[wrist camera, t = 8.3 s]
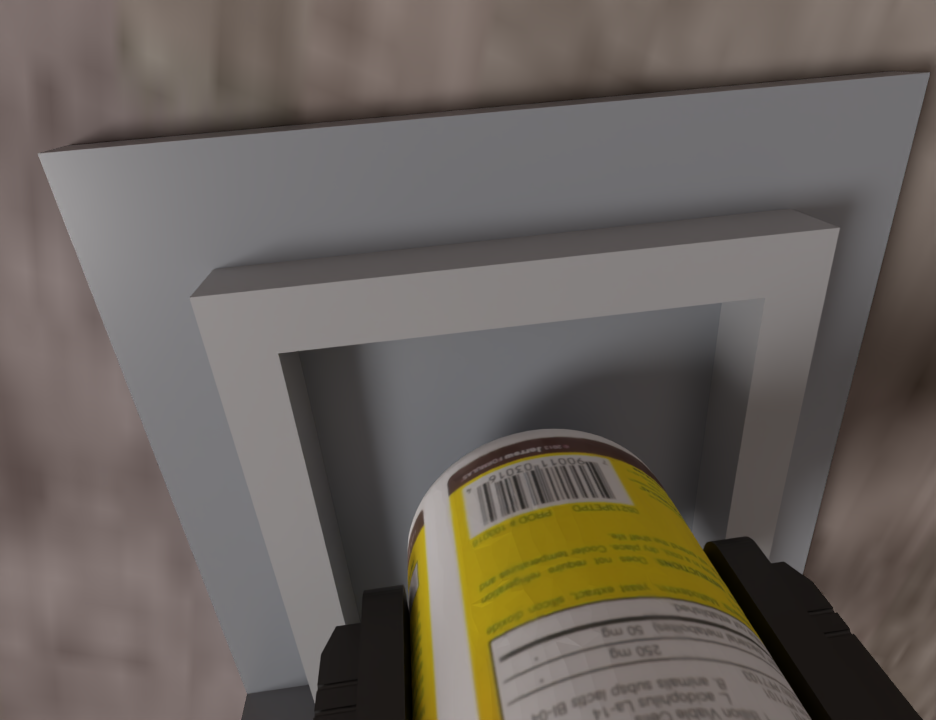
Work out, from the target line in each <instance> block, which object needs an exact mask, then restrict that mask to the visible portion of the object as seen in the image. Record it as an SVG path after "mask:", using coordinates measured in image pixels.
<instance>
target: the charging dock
mask: <svg viewBox="0 0 936 720" xmlns="http://www.w3.org/2000/svg"><path fill="white" fill-rule="evenodd" d="M929 76H930V72H898V71H888V72H877V73H866V74H855V75H844V76H833V77H822V78H810V79H799V80H788V81H777V82H766V83H755V84H744V85H733V86H722V87H711V88H700V89H689V90H678V91H666V92H655V93H644V94H633V95H622V96H611V97H600V98H589V99H578V100H567V101H556V102H545V103H534V104H522V105H511V106H500V107H489V108H478V109H467V110H456V111H445V112H434V113H423V114H412V115H401V116H389V117H378V118H367V119H356V120H345V121H334V122H323V123H312V124H301V125H290V126H279V127H268V128H257V129H245V130H234V131H223V132H212V133H201V134H190V135H179V136H168V137H157V138H146V139H135V140H124V141H113V142H101V143H90V144H79V145H68V146H63V147H60V148H56V149H52V150H49V151H45V152H41V153H38V156H39V158H40V161H41V164H42V166H43V169H44V171H45V174H46V176H47V179H48V182H49V184H50V187H51V189H52V192H53V194H54V197H55V200H56V202H57V205H58V207H59V210H60V213H61V215H62V218H63V220H64V223H65V225H66V228H67V231H68V233H69V236H70V238H71V241H72V243H73V246H74V249H75V251H76V254H77V256H78V259H79V261H80V264H81V267H82V269H83V272H84V274H85V277H86V280H87V282H88V285H89V287H90V290H91V292H92V295H93V298H94V300H95V303H96V305H97V308H98V310H99V313H100V316H101V318H102V321H103V323H104V326H105V329H106V331H107V334H108V336H109V339H110V341H111V344H112V347H113V349H114V352H115V354H116V357H117V359H118V362H119V365H120V367H121V370H122V372H123V375H124V378H125V380H126V383H127V385H128V388H129V390H130V393H131V396H132V398H133V401H134V403H135V406H136V408H137V411H138V414H139V416H140V419H141V421H142V424H143V426H144V429H145V432H146V434H147V437H148V439H149V442H150V445H151V447H152V450H153V452H154V455H155V457H156V460H157V463H158V465H159V468H160V470H161V473H162V475H163V478H164V481H165V483H166V486H167V488H168V491H169V494H170V496H171V499H172V501H173V504H174V506H175V509H176V512H177V514H178V517H179V519H180V522H181V524H182V527H183V530H184V532H185V535H186V537H187V540H188V543H189V545H190V548H191V550H192V553H193V555H194V558H195V561H196V563H197V566H198V568H199V571H200V573H201V576H202V579H203V581H204V584H205V586H206V589H207V591H208V594H209V597H210V599H211V602H212V604H213V607H214V610H215V612H216V615H217V617H218V620H219V622H220V625H221V628H222V630H223V633H224V635H225V638H226V640H227V643H228V646H229V648H230V651H231V653H232V656H233V659H234V661H235V664H236V666H237V669H238V671H239V674H240V677H241V679H242V682H243V684H244V687H245V689H246V692H247V697H246V702H245V706H244V710H243V715H242V719H241V720H313V718H314V716H315V713H314V708H315V700H316V691H317V690H318V687H317V683H318V674H319V666H320V658H321V653H322V651H323V650H324V648H325V646H326V644H327V642H328V640H329V638H330V636H331V635H332V633H333V631H334V629H335V627H336V626H341V625H348V624H355V623H361V613H362V597H363V591H364V590H369V589H376V588H382V587H389V586H396V585H403V584H404V586H405V591H406V596H407V602H408V608H409V596H408V570H407V567H408V554H407V550H408V537H409V532H410V528H411V524H412V521H413V518H414V516H415V513H416V511H417V509H418V506H419V505H420V503H421V501H422V499H423V497H424V496H425V494H426V493H427V491H428V490H429V489H430V487H431V486H432V485H433V483H434V482H435V481H436V480H437V479H438V478H439V477H440V476H441V475H442V474H443V473H444V472H445V471H446V470H447V469H448V468H449V467H450V466H451V465H453V464H454V463H455V462H457V461H458V460H459V459H461V458H462V457H463V456H465V455H466V454H468V453H470V452H471V451H473V450H475V449H477V448H478V447H480V446H482V445H485V444H487V443H489V442H491V441H493V440H496V439H498V438H502V437H505V436H508V435H512V434H515V433H520V432H525V431H531V430H538V429H569V430H576V431H582V432H587V433H591V434H594V435H598V436H601V437H603V438H606V439H608V440H611V441H613V442H615V443H617V444H619V445H620V446H622V447H624V448H625V449H627V450H629V451H630V452H631V453H633V454H634V455H635V456H637V457H638V458H639V459H640V460H641V461H642V462H643V463H644V464H645V465H646V466H647V467H648V468H649V469H650V471H651V472H652V473H653V474H654V475H655V477H656V478H657V479H658V481H659V482H660V483H661V484H662V486H663V487H664V489H665V491H666V492H667V494H668V496H669V498H670V499H671V500H672V502H673V503H674V505H675V507H676V508H677V510H678V511H679V513H680V514H681V516H682V518H683V519H684V521H685V522H686V524H687V525H688V527H689V529H690V530H691V532H692V533H693V535H694V537H695V538H696V540H697V541H698V543H699V544H700V546H701V548H702V549H704V546H705V544H706V543H707V542H709V541H716V540H723V539H730V538H737V537H744V536H747V537H750V538H751V539H753V540H754V541H755V542H756V544H757V545H758V546H759V548H760V549H761V550H762V552H763V553H764V554H765V556H766V557H767V558H768V560H769V561H770V562H771V563H776V562H783V561H784V562H786V563H787V564H788V565H790V566H791V567H793V568H794V569H795V570H797V571H798V572H799V573H801V574H802V575H803V571H804V567H805V563H806V559H807V556H808V552H809V548H810V544H811V540H812V536H813V532H814V528H815V524H816V520H817V516H818V512H819V508H820V504H821V500H822V497H823V493H824V489H825V485H826V481H827V477H828V473H829V469H830V465H831V461H832V457H833V453H834V449H835V445H836V441H837V438H838V434H839V430H840V426H841V422H842V418H843V414H844V410H845V406H846V402H847V398H848V394H849V390H850V386H851V382H852V379H853V375H854V371H855V367H856V363H857V359H858V355H859V351H860V347H861V343H862V339H863V335H864V331H865V327H866V323H867V319H868V316H869V312H870V308H871V304H872V300H873V296H874V292H875V288H876V284H877V280H878V276H879V272H880V268H881V264H882V260H883V257H884V253H885V249H886V245H887V241H888V237H889V233H890V229H891V225H892V221H893V217H894V213H895V209H896V205H897V201H898V198H899V194H900V190H901V186H902V182H903V178H904V174H905V170H906V166H907V162H908V158H909V154H910V150H911V146H912V142H913V139H914V135H915V131H916V127H917V123H918V119H919V115H920V111H921V107H922V103H923V99H924V95H925V91H926V87H927V83H928V80H929Z"/></svg>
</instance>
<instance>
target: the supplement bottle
mask: <svg viewBox="0 0 936 720" xmlns="http://www.w3.org/2000/svg"><path fill="white" fill-rule="evenodd" d="M407 554H408V567H407V570H408V596H409V622H410V649H411V688H412V720H812V719H811V718H810V716H809V715H808V713H807V712H806V710H805V709H804V707H803V706H802V704H801V702H800V701H799V699H798V698H797V696H796V695H795V693H794V691H793V690H792V688H791V687H790V685H789V684H788V682H787V680H786V679H785V677H784V676H783V674H782V673H781V671H780V670H779V668H778V667H777V665H776V663H775V662H774V660H773V658H772V657H771V655H770V653H769V652H768V650H767V649H766V647H765V646H764V644H763V642H762V641H761V639H760V637H759V636H758V634H757V633H756V631H755V630H754V629H753V627H752V625H751V624H750V623H749V621H748V619H747V618H746V616H745V614H744V613H743V611H742V610H741V608H740V607H739V605H738V603H737V602H736V600H735V599H734V597H733V596H732V594H731V592H730V591H729V589H728V587H727V586H726V584H725V583H724V582H723V580H722V579H721V577H720V576H719V574H718V573H717V571H716V569H715V568H714V566H713V565H712V563H711V562H710V560H709V559H708V557H707V555H706V554H705V552H704V551H703V549H702V548H701V546H700V544H699V543H698V541H697V540H696V538H695V537H694V535H693V533H692V532H691V530H690V529H689V527H688V525H687V524H686V522H685V521H684V519H683V518H682V516H681V514H680V513H679V511H678V510H677V508H676V507H675V505H674V503H673V502H672V500H671V499H670V498H669V496H668V494H667V492H666V491H665V489H664V487H663V486H662V484H661V483H660V482H659V481H658V479H657V478H656V477H655V475H654V474H653V473H652V472H651V471H650V469H649V468H648V467H647V466H646V465H645V464H644V463H643V462H642V461H641V460H640V459H639V458H638V457H637V456H635V455H634V454H633V453H631V452H630V451H629V450H627V449H625V448H624V447H622V446H620V445H619V444H617V443H615V442H613V441H611V440H608V439H606V438H603V437H601V436H598V435H594V434H591V433H587V432H582V431H576V430H569V429H538V430H531V431H525V432H520V433H515V434H512V435H508V436H505V437H502V438H498V439H496V440H493V441H491V442H489V443H487V444H485V445H482V446H480V447H478V448H477V449H475V450H473V451H471V452H470V453H468V454H466V455H465V456H463V457H462V458H461V459H459V460H458V461H457V462H455V463H454V464H453V465H451V466H450V467H449V468H448V469H447V470H446V471H445V472H444V473H443V474H442V475H441V476H440V477H439V478H438V479H437V480H436V481H435V482H434V483H433V485H432V486H431V487H430V489H429V490H428V491H427V493H426V494H425V496H424V497H423V499H422V501H421V503H420V505H419V506H418V509H417V511H416V513H415V516H414V518H413V521H412V524H411V528H410V532H409V537H408V550H407Z"/></svg>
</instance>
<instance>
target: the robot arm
mask: <svg viewBox="0 0 936 720" xmlns="http://www.w3.org/2000/svg"><path fill="white" fill-rule="evenodd" d="M703 551H704V552H705V554H706V555H707V557H708V559H709V560H710V562H711V563H712V565H713V566H714V568H715V569H716V571H717V573H718V574H719V576H720V577H721V579H722V580H723V582H724V583H725V584H726V586H727V587H728V589H729V591H730V592H731V594H732V596H733V597H734V599H735V600H736V602H737V603H738V605H739V607H740V608H741V610H742V611H743V613H744V614H745V616H746V618H747V619H748V621H749V623H750V624H751V625H752V627H753V629H754V630H755V631H756V633H757V634H758V636H759V637H760V639H761V641H762V642H763V644H764V646H765V647H766V649H767V650H768V652H769V653H770V655H771V657H772V658H773V660H774V662H775V663H776V665H777V667H778V668H779V670H780V671H781V673H782V674H783V676H784V677H785V679H786V680H787V682H788V684H789V685H790V687H791V688H792V690H793V691H794V693H795V695H796V696H797V698H798V699H799V701H800V702H801V704H802V706H803V707H804V709H805V710H806V712H807V713H808V715H809V716H810V718H811V719H812V720H923V719H922V718H921V717H920V716H919V715H918V713H917V712H916V711H915V710H914V708H913V707H912V706H911V705H910V703H909V702H908V701H907V700H906V698H905V697H904V696H903V695H902V693H901V692H900V691H899V690H898V688H897V687H896V686H895V685H894V683H893V682H892V681H891V680H890V678H889V677H888V676H887V675H886V673H885V672H884V671H883V670H882V668H881V667H880V666H879V665H878V663H877V662H876V661H875V660H874V658H873V657H872V656H871V655H870V653H869V652H868V651H867V650H866V648H865V647H864V646H863V645H862V643H861V642H860V641H859V640H858V638H857V637H856V636H855V635H854V634H853V635H852V634H851V632H850V628H849V627H848V626H847V625H846V623H845V622H844V621H843V619H842V618H841V617H840V616H839V614H838V613H835V612H834V611H833V607H832V606H831V604H830V603H829V602H828V601H827V599H826V598H825V597H824V596H823V594H822V593H821V592H820V591H819V589H818V588H817V587H816V586H815V584H814V583H813V582H812V581H811V580H809V579H808V578H806V577H805V576H804V575H802V574H801V573H799V572H798V571H797V570H795V569H794V568H793V567H791V566H790V565H788V564H787V563H786V562H784V561H783V562H776V563H771V562H770V561H769V560H768V558H767V557H766V556H765V554H764V553H763V552H762V550H761V549H760V548H759V546H758V545H757V544H756V542H755V541H754V540H753V539H751V538H750V537H747V536H744V537H737V538H730V539H723V540H716V541H709V542H707V543H706V544H705V546H704V549H703ZM317 687H318V690H317V691H316V700H315V708H314V713H315V716H314V718H313V720H412V688H411V649H410V622H409V608H408V602H407V596H406V591H405V586H404V584H403V585H396V586H389V587H382V588H376V589H369V590H364V591H363V597H362V613H361V623H355V624H348V625H341V626H336V627H335V629H334V631H333V633H332V635H331V636H330V638H329V640H328V642H327V644H326V646H325V648H324V650H323V651H322V653H321V658H320V666H319V674H318V683H317Z"/></svg>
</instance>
